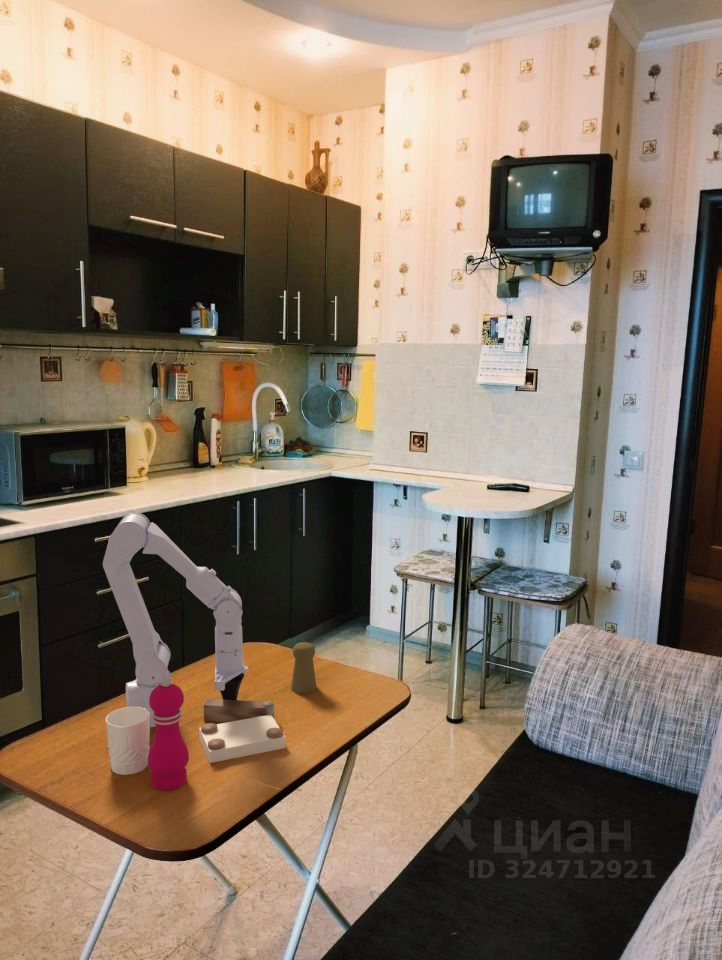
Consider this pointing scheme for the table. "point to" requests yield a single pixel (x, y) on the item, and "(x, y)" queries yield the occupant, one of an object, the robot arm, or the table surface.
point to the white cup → (128, 739)
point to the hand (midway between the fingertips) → (230, 707)
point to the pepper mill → (167, 738)
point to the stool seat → (241, 738)
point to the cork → (303, 669)
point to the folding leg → (236, 709)
